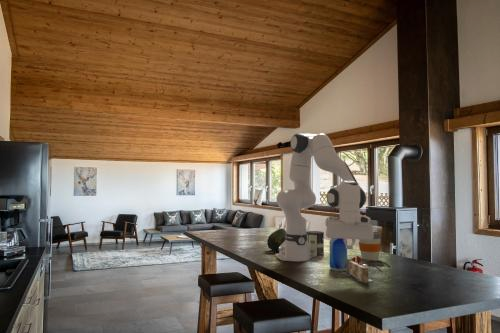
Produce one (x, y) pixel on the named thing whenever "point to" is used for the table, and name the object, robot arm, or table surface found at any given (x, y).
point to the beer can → (338, 254)
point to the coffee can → (315, 243)
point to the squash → (276, 239)
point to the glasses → (365, 259)
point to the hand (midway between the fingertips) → (349, 249)
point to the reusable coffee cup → (370, 247)
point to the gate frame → (357, 279)
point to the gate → (357, 270)
